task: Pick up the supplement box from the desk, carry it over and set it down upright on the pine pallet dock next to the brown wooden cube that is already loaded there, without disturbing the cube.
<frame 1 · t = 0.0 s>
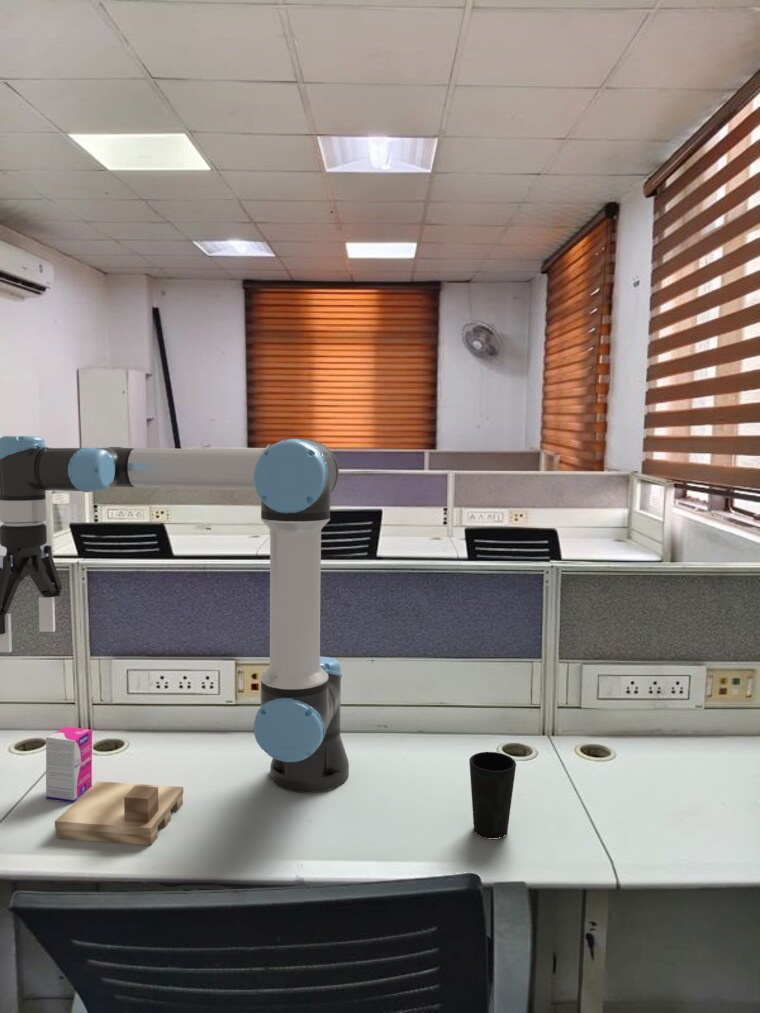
hand: (26, 641, 131), 28 cm above the table, fingers open, 13 cm apart
dock: (122, 820, 124), on the table
supplement box: (69, 795, 133), on the table
cup: (490, 831, 123), on the table
brown wooden cube: (141, 815, 120), point 3 cm above the table, touching dock
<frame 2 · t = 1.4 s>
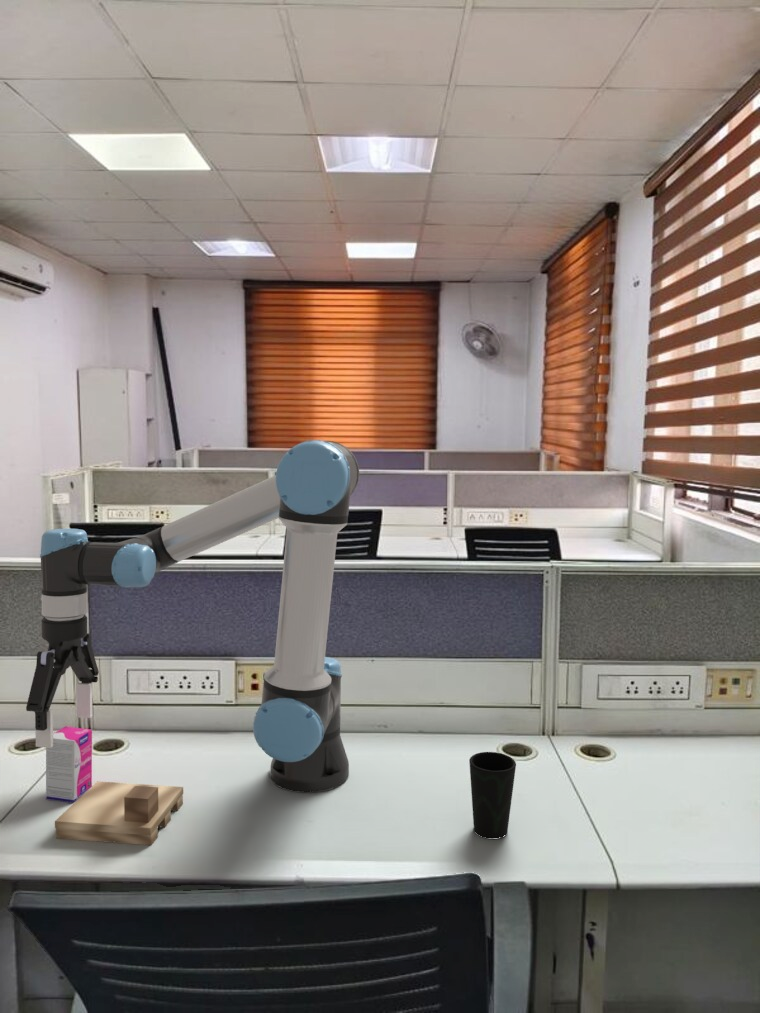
hand: (65, 731, 132), 12 cm above the table, fingers open, 13 cm apart
nothing on the table moved.
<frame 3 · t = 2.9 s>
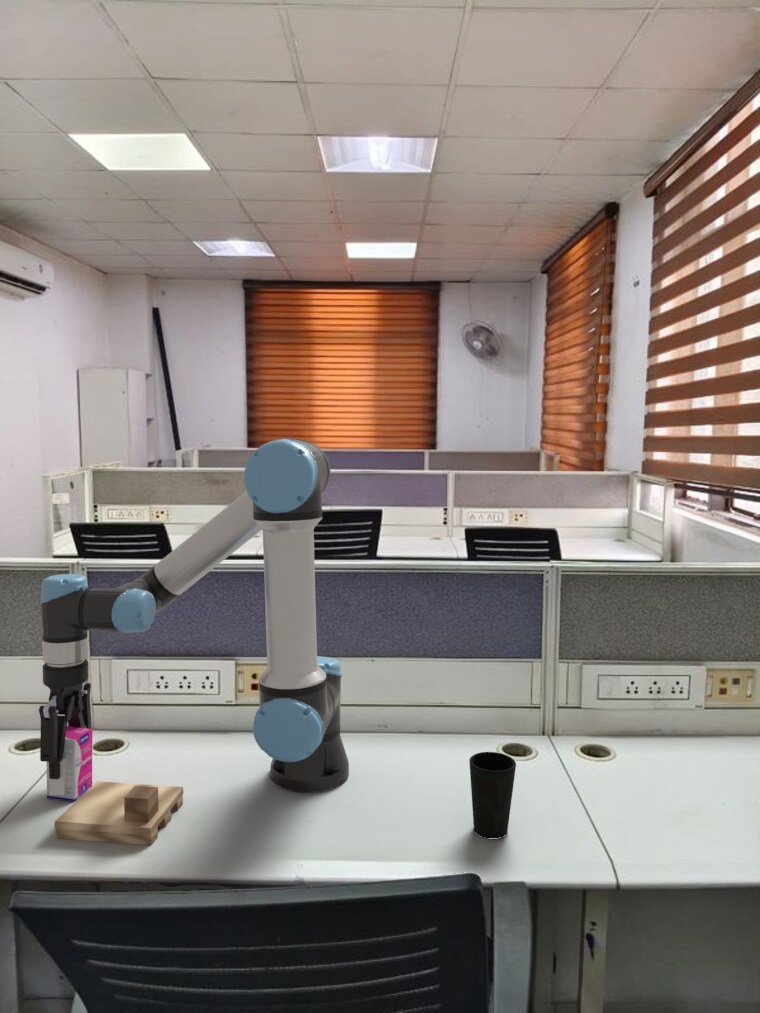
hand: (68, 785, 133), 1 cm above the table, fingers closed on supplement box, 6 cm apart
supplement box: (70, 794, 133), on the table, touching gripper
everything else where it was.
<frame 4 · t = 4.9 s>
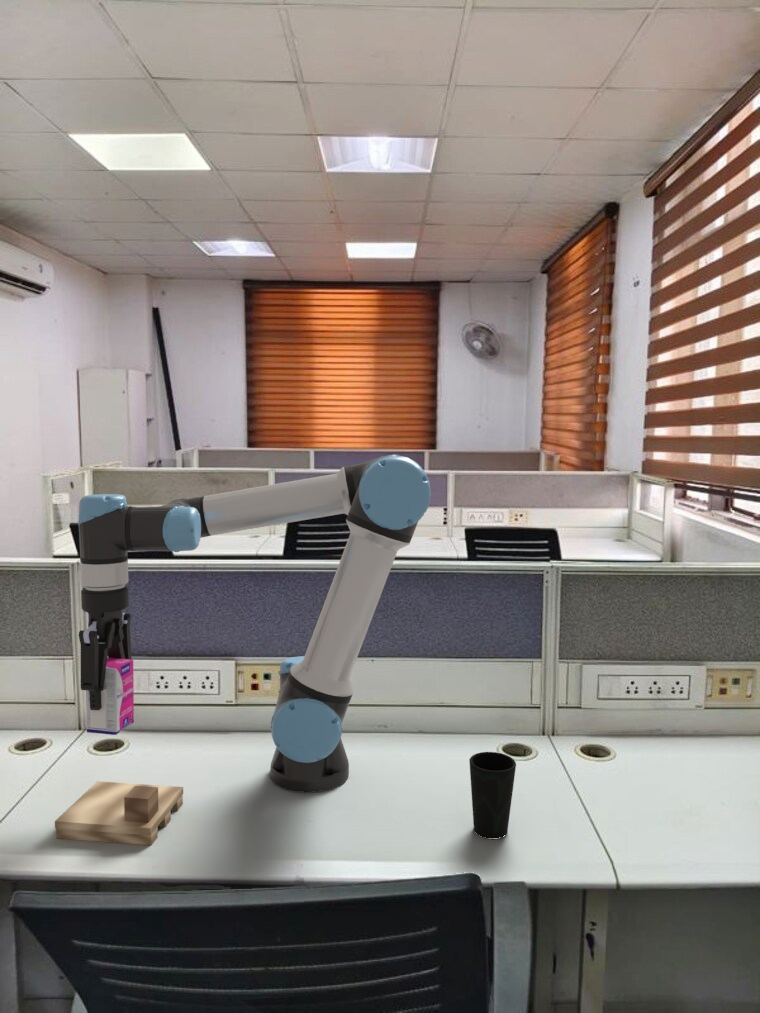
hand: (108, 719, 125), 17 cm above the table, fingers closed on supplement box, 6 cm apart
supplement box: (111, 728, 125), point 15 cm above the table, touching gripper
everything else where it was.
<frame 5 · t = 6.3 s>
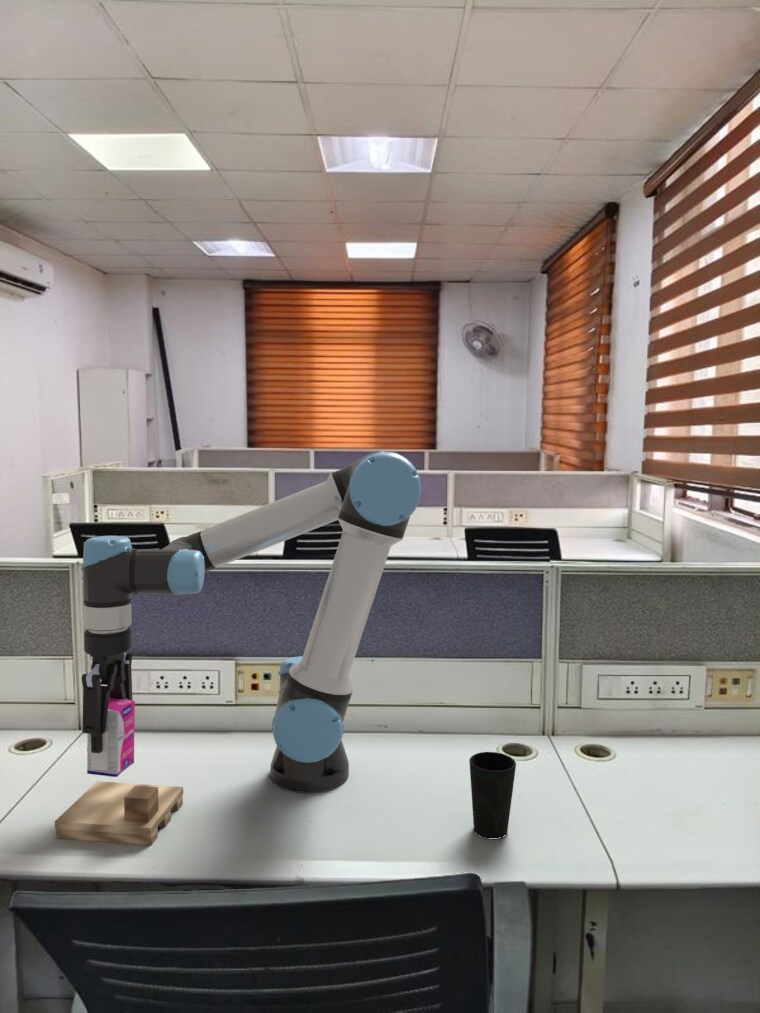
hand: (109, 760, 126), 9 cm above the table, fingers closed on supplement box, 6 cm apart
supplement box: (111, 769, 126), point 8 cm above the table, touching gripper
everything else where it was.
when the fingers open (6 cm above the table, at t = 7.3 s): supplement box drops 1 cm, resting on dock.
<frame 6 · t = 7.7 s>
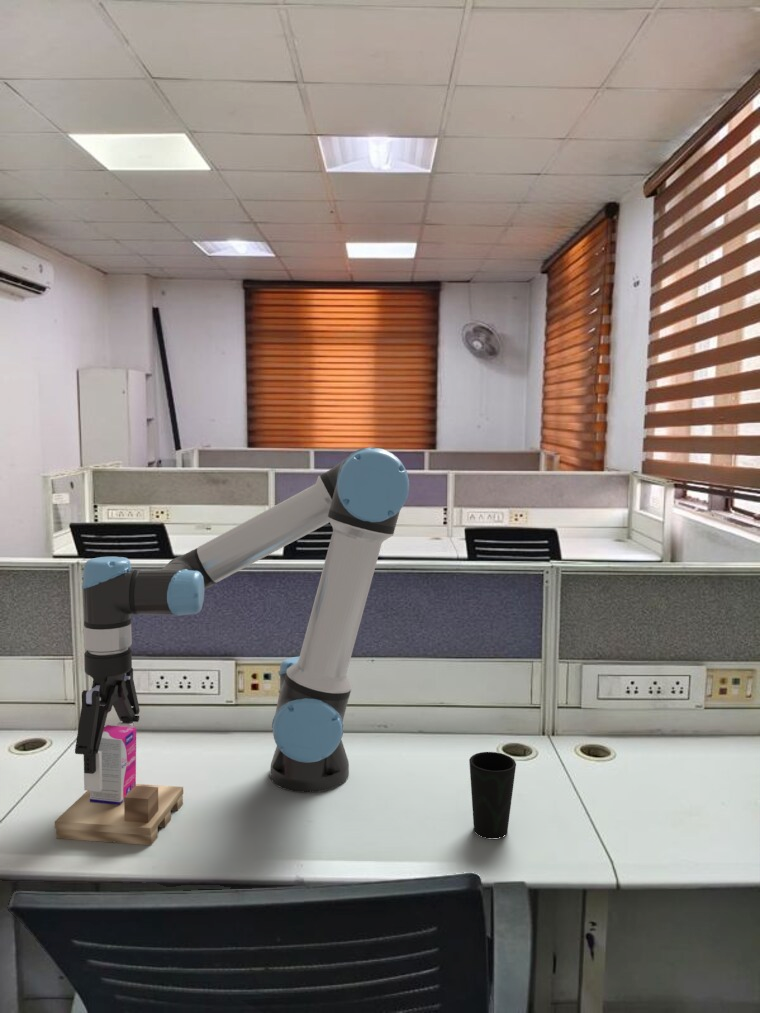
hand: (110, 773, 126), 7 cm above the table, fingers open, 11 cm apart
supplement box: (113, 797, 126), point 3 cm above the table, touching dock
everything else where it was.
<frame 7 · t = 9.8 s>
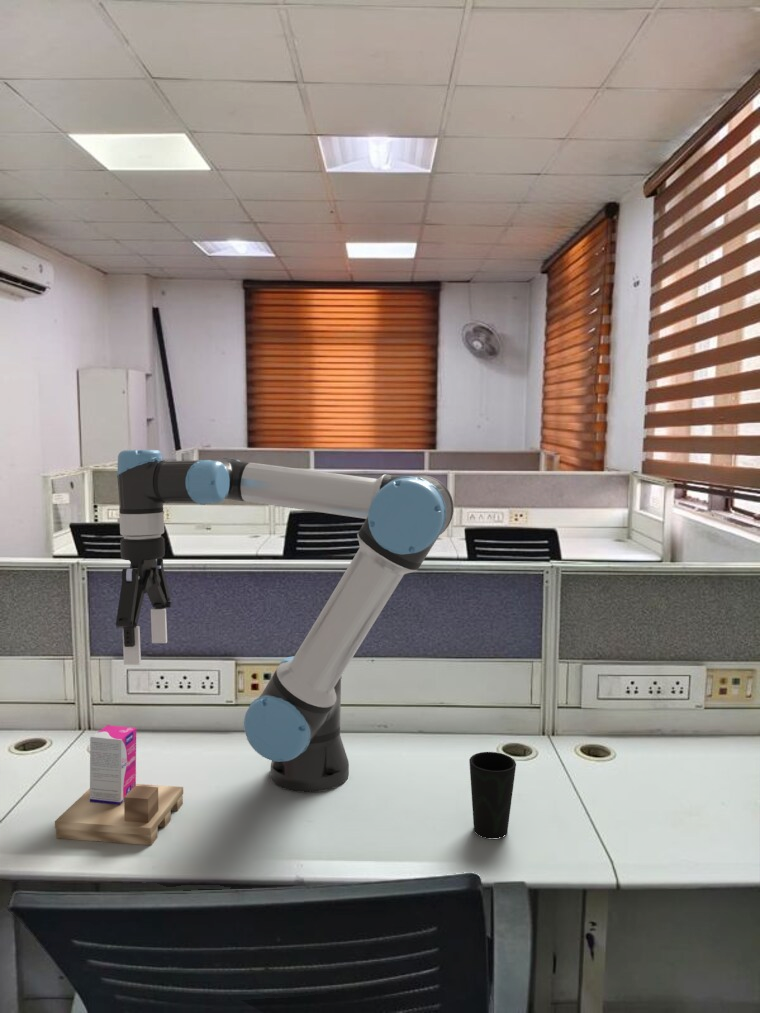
hand: (146, 653, 132), 26 cm above the table, fingers open, 13 cm apart
nothing on the table moved.
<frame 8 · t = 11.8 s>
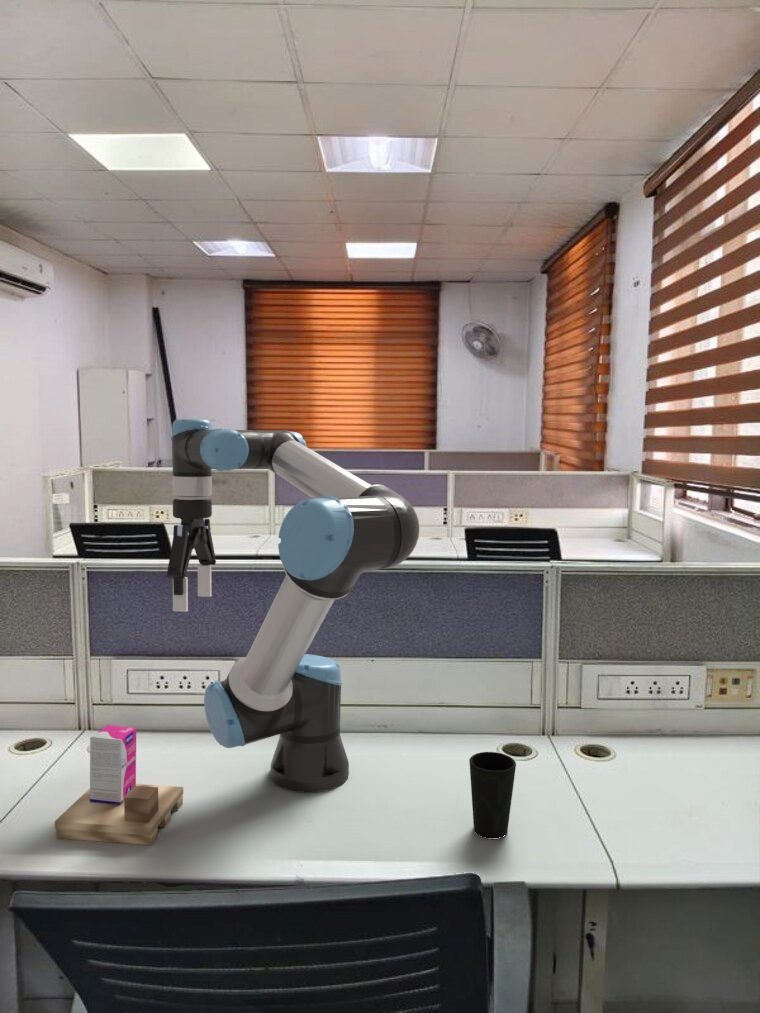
hand: (193, 603, 147), 32 cm above the table, fingers open, 13 cm apart
nothing on the table moved.
at the end: supplement box inside the target area on the dock (3.3 cm from its centre), point 2.8 cm above the dock's base; supplement box tilted 0°; brown wooden cube moved 0.0 cm from its start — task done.
